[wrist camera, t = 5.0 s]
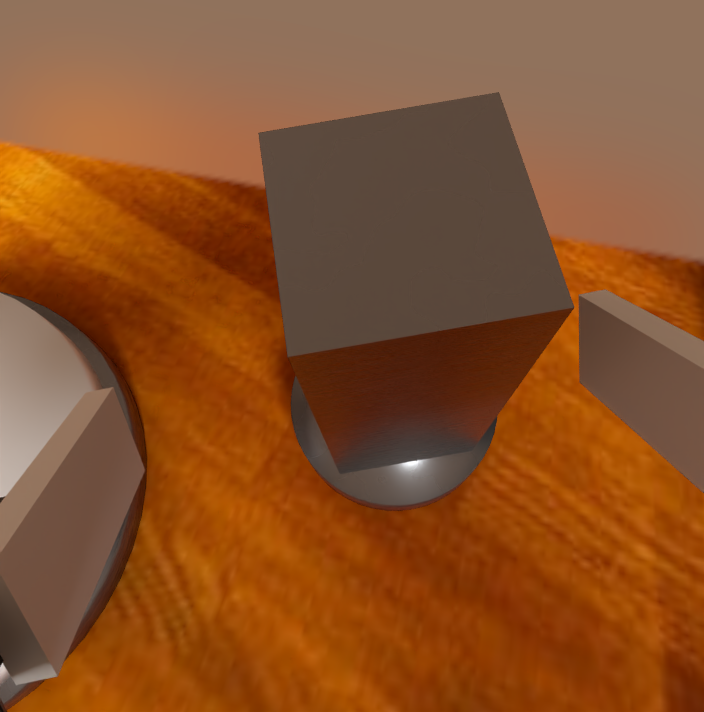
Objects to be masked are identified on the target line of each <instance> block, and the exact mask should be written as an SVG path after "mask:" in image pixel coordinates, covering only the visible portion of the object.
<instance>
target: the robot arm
mask: <svg viewBox="0 0 704 712" xmlns="http://www.w3.org/2000/svg"><path fill="white" fill-rule="evenodd" d="M579 368H580V383H581V384H582V385H583V386H585V387H586V388H587V389H588V390H589V391H590V392H591V393H592V394H593V395H595V396H596V397H597V398H598V399H599V400H600V401H601V402H602V403H604V404H605V405H606V406H607V407H608V408H609V409H610V410H611V411H612V412H614V413H615V414H616V415H617V416H618V417H619V418H620V419H621V420H623V421H624V422H625V423H626V424H627V425H628V426H629V427H630V428H632V429H633V430H634V431H635V432H636V433H637V434H638V435H639V436H640V437H642V438H643V439H644V440H645V441H646V442H647V443H648V444H649V445H651V446H652V447H653V448H654V449H655V450H656V451H657V452H658V453H659V454H661V455H662V456H663V457H664V458H665V459H666V460H667V461H668V462H670V463H671V464H672V465H673V466H674V467H675V468H676V469H677V470H678V471H680V472H681V473H682V474H683V475H684V476H685V477H686V478H687V479H689V480H690V481H691V482H692V483H693V484H694V485H695V486H696V487H697V488H699V489H700V490H701V491H702V492H703V493H704V341H702V340H700V339H698V338H697V337H695V336H693V335H691V334H689V333H687V332H685V331H683V330H681V329H679V328H678V327H676V326H674V325H672V324H670V323H668V322H666V321H664V320H662V319H660V318H658V317H657V316H655V315H653V314H651V313H649V312H647V311H645V310H643V309H641V308H639V307H638V306H636V305H634V304H632V303H630V302H628V301H626V300H624V299H622V298H620V297H619V296H617V295H615V294H613V293H611V292H609V291H607V290H601V291H596V292H591V293H586V294H581V295H579ZM144 472H145V468H144V466H143V463H142V460H141V458H140V455H139V453H138V450H137V447H136V445H135V442H134V440H133V437H132V434H131V432H130V429H129V427H128V424H127V421H126V419H125V416H124V414H123V411H122V408H121V406H120V403H119V401H118V398H117V395H116V393H115V390H114V388H113V387H111V388H106V389H101V390H96V391H91V392H86V393H85V394H84V395H83V397H82V398H81V399H80V400H79V402H78V403H77V404H76V406H75V407H74V408H73V409H72V411H71V412H70V413H69V415H68V416H67V417H66V419H65V420H64V421H63V422H62V424H61V425H60V426H59V428H58V429H57V430H56V432H55V433H54V434H53V435H52V437H51V438H50V439H49V441H48V442H47V443H46V445H45V446H44V447H43V448H42V450H41V451H40V452H39V454H38V455H37V456H36V458H35V459H34V460H33V461H32V463H31V464H30V465H29V467H28V468H27V469H26V471H25V472H24V473H23V474H22V476H21V477H20V478H19V480H18V481H17V482H16V484H15V485H14V486H13V487H12V489H11V490H10V491H9V493H8V494H7V495H6V496H5V497H0V667H1V665H2V663H3V665H4V666H5V668H6V669H7V671H8V673H9V674H10V676H11V678H12V679H13V681H14V683H15V684H16V685H19V684H24V683H28V682H33V681H38V680H43V679H47V678H52V677H57V676H58V674H59V672H60V670H61V667H62V665H63V662H64V660H65V658H66V655H67V653H68V651H69V648H70V646H71V644H72V641H73V639H74V637H75V634H76V632H77V629H78V627H79V625H80V622H81V620H82V618H83V615H84V613H85V611H86V608H87V606H88V604H89V601H90V599H91V596H92V594H93V592H94V589H95V587H96V585H97V582H98V580H99V578H100V575H101V573H102V571H103V568H104V566H105V563H106V561H107V559H108V556H109V554H110V552H111V549H112V547H113V545H114V542H115V540H116V538H117V535H118V533H119V530H120V528H121V526H122V523H123V521H124V519H125V516H126V514H127V512H128V509H129V507H130V505H131V502H132V500H133V497H134V495H135V493H136V490H137V488H138V486H139V483H140V481H141V479H142V476H143V474H144ZM0 712H7V711H6V709H5V707H4V705H3V703H2V700H1V698H0Z"/></svg>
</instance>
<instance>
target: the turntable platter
mask: <svg viewBox="0 0 704 712" xmlns="http://www.w3.org/2000/svg"><path fill="white" fill-rule="evenodd" d="M101 389H103V387H102V385H101V382H100V380H99V378H98V376H97V374H96V373H95V371H94V369H93V368H92V366H91V364H90V363H89V361H88V359H87V358H86V357H85V355H84V354H83V353H82V352H81V351H80V349H79V348H78V347H77V346H76V345H75V343H74V342H73V341H72V340H71V339H69V338H68V337H67V336H66V335H65V334H64V333H63V332H61V331H60V330H59V329H58V328H57V327H56V326H54V325H53V324H52V323H50V322H49V321H48V320H46V319H45V318H43V317H42V316H41V315H39V314H38V313H37V312H35V311H34V310H32V309H30V308H29V307H27V306H26V305H24V304H22V303H21V302H19V301H18V300H16V299H14V298H11V297H9V296H7V295H4V294H2V293H0V497H5V496H6V495H7V494H8V493H9V491H10V490H11V489H12V487H13V486H14V485H15V484H16V482H17V481H18V480H19V478H20V477H21V476H22V474H23V473H24V472H25V471H26V469H27V468H28V467H29V465H30V464H31V463H32V461H33V460H34V459H35V458H36V456H37V455H38V454H39V452H40V451H41V450H42V448H43V447H44V446H45V445H46V443H47V442H48V441H49V439H50V438H51V437H52V435H53V434H54V433H55V432H56V430H57V429H58V428H59V426H60V425H61V424H62V422H63V421H64V420H65V419H66V417H67V416H68V415H69V413H70V412H71V411H72V409H73V408H74V407H75V406H76V404H77V403H78V402H79V400H80V399H81V398H82V397H83V395H84V394H85V393H86V392H91V391H96V390H101ZM9 677H10V674H9V673H8V671H7V669H6V668H5V666H4V665H3V663H2V665H1V667H0V686H1V685H2V684H3V683H4V682H5V681H6V680H7V679H8V678H9Z"/></svg>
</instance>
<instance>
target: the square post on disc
mask: <svg viewBox="0 0 704 712" xmlns="http://www.w3.org/2000/svg"><path fill="white" fill-rule="evenodd" d="M259 141H260V148H261V156H262V164H263V171H264V179H265V187H266V195H267V202H268V210H269V218H270V225H271V233H272V241H273V248H274V256H275V264H276V271H277V279H278V287H279V294H280V302H281V310H282V317H283V325H284V333H285V340H286V348H287V356H288V359H289V361H290V363H291V366H292V368H293V370H294V372H295V375H296V376H295V379H294V384H293V388H292V396H291V414H292V421H293V426H294V430H295V433H296V436H297V439H298V442H299V444H300V446H301V448H302V450H303V452H304V454H305V456H306V457H307V459H308V460H309V462H310V463H311V465H312V466H313V468H314V469H315V470H316V472H317V473H318V475H319V476H320V477H321V478H322V479H323V480H324V481H325V482H326V483H327V484H328V485H329V486H330V487H331V488H332V489H334V490H335V491H336V492H337V493H339V494H341V495H342V496H344V497H345V498H347V499H349V500H351V501H353V502H355V503H357V504H360V505H363V506H366V507H369V508H373V509H379V510H387V511H401V510H411V509H415V508H419V507H423V506H426V505H429V504H431V503H434V502H436V501H438V500H440V499H442V498H443V497H445V496H447V495H448V494H450V493H451V492H452V491H454V490H455V489H456V488H458V487H459V486H460V485H461V484H462V483H463V482H464V481H465V480H466V479H467V477H468V476H469V475H470V474H471V473H472V472H473V471H474V469H475V468H476V467H477V465H478V464H479V463H480V461H481V460H482V459H483V457H484V455H485V453H486V451H487V449H488V448H489V446H490V443H491V440H492V437H493V435H494V431H495V426H496V422H497V415H498V414H499V412H500V411H501V410H502V408H503V407H504V405H505V404H506V403H507V401H508V400H509V398H510V397H511V396H512V394H513V393H514V391H515V390H516V389H517V387H518V386H519V384H520V383H521V382H522V380H523V379H524V377H525V376H526V375H527V373H528V372H529V370H530V369H531V368H532V366H533V365H534V363H535V362H536V360H537V359H538V358H539V356H540V355H541V353H542V352H543V351H544V349H545V348H546V346H547V345H548V344H549V342H550V341H551V339H552V338H553V337H554V335H555V334H556V332H557V331H558V330H559V328H560V327H561V325H562V324H563V323H564V321H565V320H566V318H567V317H568V316H569V314H570V313H571V311H572V310H573V309H574V305H573V303H572V300H571V297H570V294H569V291H568V288H567V285H566V283H565V280H564V277H563V274H562V271H561V268H560V265H559V263H558V260H557V257H556V254H555V251H554V248H553V245H552V243H551V240H550V237H549V234H548V231H547V228H546V225H545V223H544V220H543V217H542V214H541V211H540V208H539V206H538V203H537V200H536V197H535V194H534V191H533V188H532V186H531V183H530V180H529V177H528V174H527V171H526V168H525V166H524V163H523V160H522V157H521V154H520V151H519V148H518V145H517V143H516V140H515V137H514V134H513V131H512V128H511V125H510V123H509V120H508V117H507V114H506V111H505V108H504V106H503V103H502V100H501V97H500V94H499V92H498V93H492V94H486V95H480V96H474V97H469V98H463V99H457V100H451V101H445V102H439V103H433V104H427V105H421V106H415V107H409V108H403V109H398V110H391V111H385V112H379V113H373V114H368V115H362V116H356V117H350V118H344V119H339V120H332V121H326V122H320V123H315V124H308V125H303V126H297V127H290V128H284V129H279V130H273V131H267V132H262V133H259Z"/></svg>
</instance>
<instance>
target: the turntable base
mask: <svg viewBox="0 0 704 712" xmlns="http://www.w3.org/2000/svg"><path fill="white" fill-rule="evenodd" d="M0 293H2V294H4V295H7V296H9V297H11V298H14V299H16V300H18V301H19V302H21V303H22V304H24V305H26V306H27V307H29V308H30V309H32V310H34V311H35V312H37V313H38V314H39V315H41V316H42V317H43V318H45V319H46V320H48V321H49V322H50V323H52V324H53V325H54V326H56V327H57V328H58V329H59V330H60V331H61V332H63V333H64V334H65V335H66V336H67V337H68V338H69V339H71V340H72V341H73V342H74V343H75V345H76V346H77V347H78V348H79V349H80V351H81V352H82V353H83V354H84V355H85V357H86V358H87V359H88V361H89V363H90V364H91V366H92V368H93V369H94V371H95V373H96V374H97V376H98V378H99V380H100V382H101V385H102V387H103V389H106V388H111V387H113V388H114V390H115V393H116V395H117V398H118V401H119V403H120V406H121V408H122V411H123V414H124V416H125V419H126V421H127V424H128V427H129V429H130V432H131V434H132V437H133V440H134V442H135V445H136V447H137V450H138V453H139V455H140V458H141V460H142V463H143V466H144V468H145V472H144V474H143V476H142V479H141V481H140V483H139V486H138V488H137V490H136V493H135V495H134V497H133V500H132V502H131V505H130V507H129V509H128V512H127V514H126V516H125V519H124V521H123V523H122V526H121V528H120V530H119V533H118V535H117V538H116V540H115V542H114V545H113V547H112V549H111V552H110V554H109V556H108V559H107V561H106V563H105V566H104V568H103V571H102V573H101V575H100V578H99V580H98V582H97V585H96V587H95V589H94V592H93V594H92V596H91V599H90V601H89V604H88V606H87V608H86V611H85V613H84V615H83V618H82V620H81V622H80V625H79V627H78V629H77V632H76V634H75V637H74V639H73V641H72V644H71V646H70V648H69V651H68V653H67V655H66V658H65V660H66V659H67V658H68V656H69V655H70V654H71V653H72V652H73V651H74V649H75V648H76V647H77V646H78V645H79V644H80V642H81V641H82V640H83V639H84V638H85V636H86V635H87V633H88V632H89V630H90V629H91V628H92V626H93V625H94V623H95V622H96V620H97V619H98V617H99V616H100V614H101V613H102V611H103V610H104V609H105V607H106V605H107V603H108V601H109V599H110V597H111V596H112V594H113V592H114V590H115V588H116V586H117V584H118V582H119V581H120V579H121V576H122V574H123V571H124V569H125V566H126V564H127V561H128V559H129V556H130V554H131V551H132V549H133V546H134V542H135V539H136V535H137V531H138V528H139V524H140V520H141V516H142V510H143V503H144V496H145V490H146V450H145V441H144V432H143V428H142V424H141V421H140V417H139V413H138V409H137V406H136V404H135V401H134V399H133V396H132V394H131V392H130V389H129V387H128V385H127V383H126V381H125V380H124V378H123V376H122V375H121V373H120V372H119V370H118V368H117V367H116V365H115V364H114V363H113V362H112V360H111V359H110V358H109V357H108V356H107V355H106V353H105V352H104V351H103V350H102V349H101V348H100V347H99V346H98V345H97V344H96V343H95V342H93V341H92V340H91V339H90V338H89V337H88V336H86V335H85V334H84V333H83V332H82V331H80V330H79V329H78V328H76V327H75V326H74V325H73V324H71V323H70V322H69V321H68V320H66V319H65V318H63V317H61V316H60V315H58V314H56V313H55V312H53V311H52V310H50V309H48V308H47V307H44V306H42V305H40V304H37V303H35V302H33V301H30V300H28V299H25V298H22V297H18V296H14V295H10V294H7V293H3V292H0ZM65 660H64V661H65ZM45 680H46V679H43V680H38V681H33V682H28V683H24V684H19V685H16V684H15V683H14V681H13V679H12V678H11V676H10V677H9V678H8V679H7V680H6V681H5V682H4V683H3V684H2V685H1V686H0V698H1V700H2V703H3V705H4V707H5V709H6V711H7V710H8V709H9V708H11V707H12V706H14V705H15V704H16V703H18V702H19V701H20V700H22V699H23V698H24V697H26V696H27V695H28V694H30V693H31V692H32V691H34V690H35V689H36V688H37V687H38V686H39V685H40V684H41V683H42V682H43V681H45Z"/></svg>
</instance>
